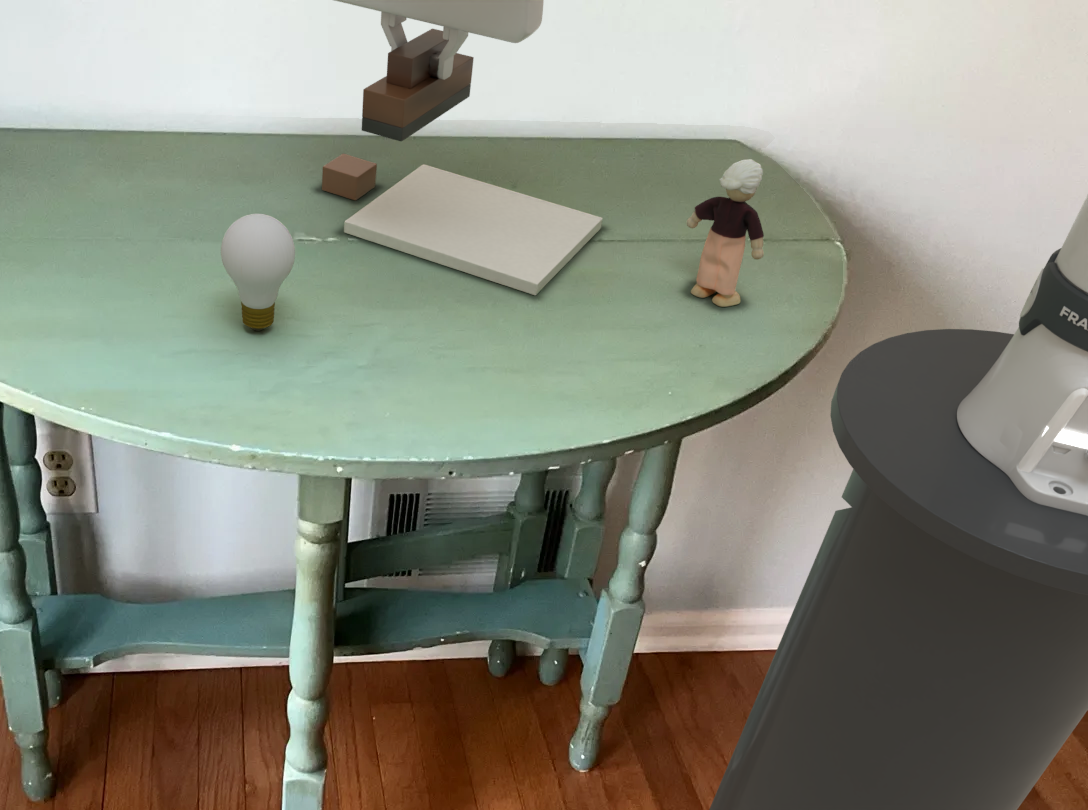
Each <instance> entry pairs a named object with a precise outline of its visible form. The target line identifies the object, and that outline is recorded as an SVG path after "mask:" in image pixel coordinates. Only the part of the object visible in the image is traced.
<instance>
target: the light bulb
mask: <svg viewBox="0 0 1088 810" xmlns="http://www.w3.org/2000/svg"><path fill="white" fill-rule="evenodd" d="M220 256H221V257H220V258H221V263H222V266H223V268H224V270H225V272H226V274H227V275H228V276H229V278H230V279H231V280H232V283H234V285H235V287H236V289H237V292H238V297H239V300H240V305H241V321H242V323H243V325H245V326H246V327H248V328H250V329H251V330H253V331H255V332H261V331H263V330H264V329H266V328H268V327H269V328H270V327H271V326H272V325H273V324H274V321H275V320H274V319H275V310H276V307H275V306H276V301H277V298H278V295H279V290H280V288H281V286H282V284H283V283H284V281H285V280H286V279H287V277H288V276H289V275H290V274H291V272H292V270H293V267H294V264H295V259H296V246H295V242H294V238H293V236H292V235H291V232H290V231H289V229H288V228H287V227H286V225H285V224H284V223H282V222H281V221H280V220H278V219H277V218H275V217H274V216H271V215H268V214H265V213H251V214H246V215H244V216H241V217H239V218H237V219H236V220H234V221H233V223H232V224H231V225H230V226H229V227H228V228H227V230H226V231H225V232H224V235H223V238H222V240H221V245H220Z"/></svg>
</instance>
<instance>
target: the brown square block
mask: <svg viewBox="0 0 1088 810" xmlns="http://www.w3.org/2000/svg"><path fill="white" fill-rule="evenodd" d="M377 166H378V163H377V162H373V161H370V160H366V159H363V158H360V157H357V156H353V155H350V154H347V153H341V154H340V155H338V156H337V157H335V158H333V159H331V160H330V161H329V162H327V163H326V164H324V165H323V166H322V172H321V173H322V175H321V176H322V177H321V191H324V192H327V193H331V194H334V195H335V196H340V197H343V198H345V199H349V200H351V201H352V200H353V201H357V200H359V199H360V198H362V197H363V196H364V195H366V194H367V193H369V192H370V191H372V190H373V189H375V188H376V181H377V169H378V168H377Z"/></svg>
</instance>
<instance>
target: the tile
mask: <svg viewBox="0 0 1088 810" xmlns="http://www.w3.org/2000/svg"><path fill="white" fill-rule="evenodd" d="M603 219H604V218H603V217H601V216H598V215H594V214H591V213H588V212H584V211H582V210H578V209H574V208H571V207H568V206H564V205H562V204H559V203H555V202H551V201H549V200H545V199H541V198H538V197H534V196H531V195H528V194H525V193H521V192H518V191H514V190H511V189H508V188H504V187H501V186H498V185H494V184H492V183H489V182H484V181H481V180H478V179H475V178H471V177H468V176H464V175H461V174H458V173H454V172H451V171H449V170H448V171H447V170H444V169H442V168H438V167H434V166H431V165H428V164H426V163H423V164H421V165H420V166H418V167H417V168H416V169H414V170H412V172H410V173H409V174H407V175H406V176H405V177H403V178H402V179H400V180H399V181H398V182H396V183H395V184H393V185H392V186H391V187H389V188H388V189H387V190H385V191H383V193H381V194H379V196H377V197H376V198H374V199H373V200H372V201H370V202H369V203H367V204H366V205H364V206H363V207H362V208H360V209H359V210H357V212H355V213H353V214H352V215H350V216H349V217H348V218H347V219H345V220H344V223H343V233H344V234H348V235H351V236H353V237H357V238H360V239H362V240H365V241H369V242H372V243H374V244H378V245H381V246H384V247H386V248H390V249H393V250H396V251H399V252H402V253H405V254H408V255H411V256H414V257H417V258H420V259H422V260H423V259H424V260H427V261H429V262H432V263H435V264H438V265H442V266H444V267H448V268H450V269H454V270H457V271H460V272H463V273H466V274H469V275H472V276H475V277H478V278H481V279H483V280H487V281H490V282H493V283H496V284H499V285H502V286H505V287H508V288H511V289H514V290H518V291H520V292H523V293H527V294H529V295H531V296H537V295H538V294H539V293H540V291H542V290H543V289H544V287H546V285H547V284H548V283H549V282H551V280H552V279H553V278H554V277H555V276H556V275H558V273H559V272H560V271H561V270H562V269H564V267H565V266H566V265H567V264H568V263H569V262H570V261H571V260H572V259H573V258H574V257H575V256H576V255H577V254H578V253H579V252H580V251H581V250H582V249H583V247H585V245H586V244H587V243H588V242H589V241H590V240H591V239H592V238H593V237H594V236H595V235H596V234H597V233H599V231H600V230H601V229H602V225H603V221H604V220H603Z"/></svg>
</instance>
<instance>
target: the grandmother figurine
mask: <svg viewBox="0 0 1088 810" xmlns="http://www.w3.org/2000/svg"><path fill="white" fill-rule="evenodd" d="M763 175H764V169H763V168H762V164H760V163H758V162H757V161H755V160H754V159H751V158H750V159H749V158H748V159H741V160H739V161H736V162H734V163H732V164H731V165H730V166H729V167H728V168H727V169H726V170H725V171H724V172H723V175H722V177H721V178H719V179H718V181H719V182H720V186H721V188H723V189H725V192H726V195H727V197H725V196H713V197H711V198H708V199H706V200H703V201H702V202H700V203H699V204H697V205H695V206H694V211H693V212H692V213H691V216H689V217H688V218H687V219H686V222H685V223H686V226H687V227H688V228H690V229H695V228H697V226H698V225H699V223H700V222H702V221H713V223H712V225H711V226H710V228H709V231H708V233H707V236H706V239H705V241H704V245H703V248H702V251H701V255H700V259H699V265H698V270H697V274H696V281H695V282H696V283H695V284H694V286H693V287H692V288H691V290H690V294H691V295H693V296H694V297H697V298H702V299H704V298H708V297H710V296H711V295H714V294H715V293H716V292H717V294H716V295H714V296H713V297H712V299H711V302H712V303H713V304H714V305H716V306H718V307H721V308H724V307H731V306H737V305H739V304H740V303H741V299H742V298H741V295H740V294H739V292H738V291H737V290H736V288H737V284H738V281H739V276H740V271H741V266H742V262H743V258H744V254H745V249H746V235H747V234H748V238H749V241H750V247H751V253H750V255H751V257H752V259H754V260H758V261H759V260H761V259H762V258H764V255H765V252H764V249H763V248H764V236H765V233H764V230H763V227H762V222H761V219H760V217H759V213H758V212H757V211H756V209H755V208H754V207H752V205H750V204H749V203H747V201H749V200H751V199H752V198H754V196H755V194H756V192H757V190H758V188H759V186H760V184H761V182H762V181H763V178H762V177H763Z"/></svg>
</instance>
